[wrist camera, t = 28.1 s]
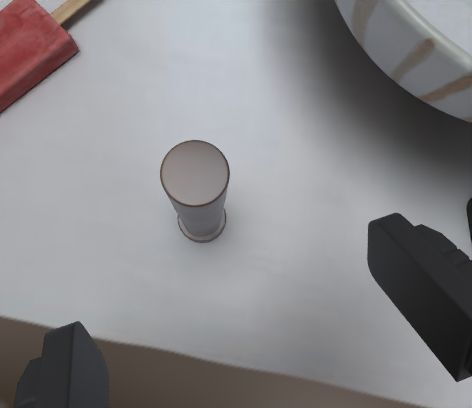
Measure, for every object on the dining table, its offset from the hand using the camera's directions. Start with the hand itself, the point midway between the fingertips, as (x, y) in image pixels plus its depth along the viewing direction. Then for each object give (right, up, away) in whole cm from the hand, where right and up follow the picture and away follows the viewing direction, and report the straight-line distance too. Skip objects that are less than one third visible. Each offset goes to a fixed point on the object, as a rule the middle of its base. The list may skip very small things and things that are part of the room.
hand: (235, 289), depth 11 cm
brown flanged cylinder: (-2, +1, +15) cm, 15 cm away
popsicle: (-14, +13, +16) cm, 25 cm away
